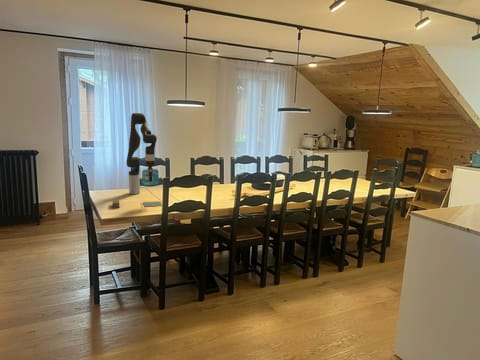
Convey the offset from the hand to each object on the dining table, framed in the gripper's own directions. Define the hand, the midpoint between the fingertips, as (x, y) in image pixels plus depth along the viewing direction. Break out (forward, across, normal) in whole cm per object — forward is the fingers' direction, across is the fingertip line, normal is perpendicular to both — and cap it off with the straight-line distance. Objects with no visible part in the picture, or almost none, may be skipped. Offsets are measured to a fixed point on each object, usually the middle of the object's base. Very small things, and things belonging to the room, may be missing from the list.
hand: (150, 180), depth 292 cm
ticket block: (+19, 0, -27) cm, 33 cm away
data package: (+3, 0, 0) cm, 3 cm away
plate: (+19, 0, +1) cm, 19 cm away
